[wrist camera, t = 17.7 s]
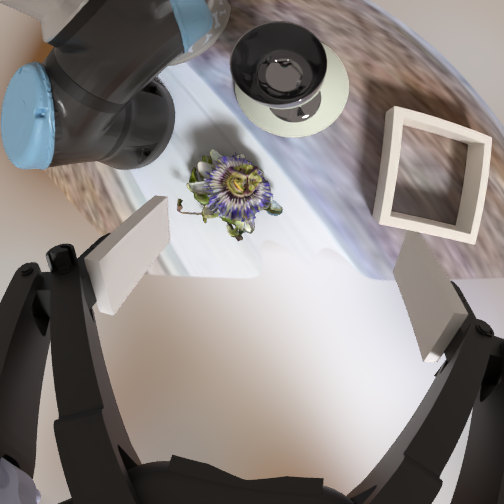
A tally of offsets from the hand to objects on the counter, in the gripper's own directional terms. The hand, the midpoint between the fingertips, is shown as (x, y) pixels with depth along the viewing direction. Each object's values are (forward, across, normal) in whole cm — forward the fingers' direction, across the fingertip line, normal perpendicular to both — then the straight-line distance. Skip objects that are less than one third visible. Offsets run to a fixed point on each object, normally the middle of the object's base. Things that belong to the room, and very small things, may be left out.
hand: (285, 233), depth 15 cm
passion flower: (+25, -7, -7) cm, 27 cm away
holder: (+24, +19, 0) cm, 30 cm away
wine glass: (+26, -1, +7) cm, 27 cm away
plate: (+27, -1, +8) cm, 28 cm away
